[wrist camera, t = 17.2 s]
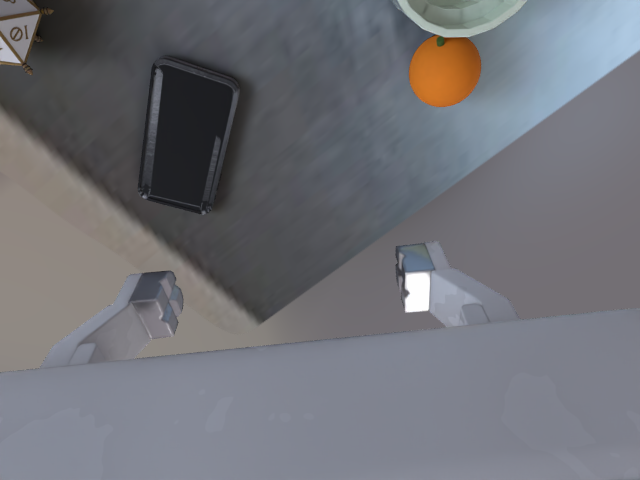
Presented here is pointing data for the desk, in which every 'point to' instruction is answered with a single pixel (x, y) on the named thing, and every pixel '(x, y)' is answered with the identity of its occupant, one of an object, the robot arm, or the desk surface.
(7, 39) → the game die
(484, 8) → the bowl
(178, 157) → the phone
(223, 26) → the desk surface
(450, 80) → the orange
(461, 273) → the robot arm
